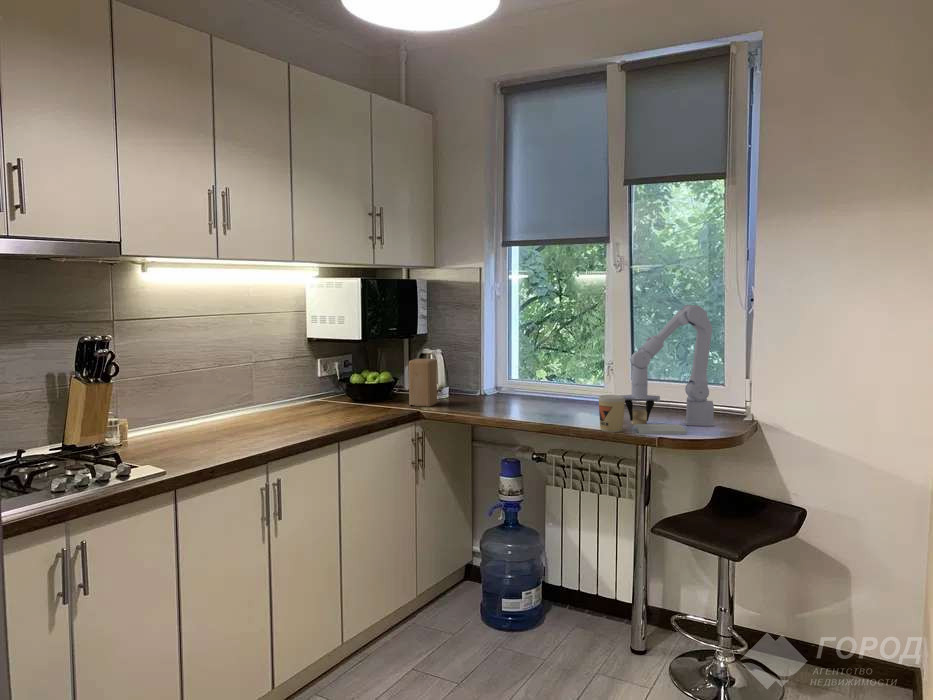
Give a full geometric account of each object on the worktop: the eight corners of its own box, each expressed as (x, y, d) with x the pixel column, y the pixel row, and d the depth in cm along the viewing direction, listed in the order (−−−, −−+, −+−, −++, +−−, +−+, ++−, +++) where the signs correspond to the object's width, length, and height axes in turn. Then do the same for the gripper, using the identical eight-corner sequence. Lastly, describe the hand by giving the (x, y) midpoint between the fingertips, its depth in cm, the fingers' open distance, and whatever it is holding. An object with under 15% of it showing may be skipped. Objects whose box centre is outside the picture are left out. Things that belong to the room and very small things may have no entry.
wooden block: (408, 406, 311) (407, 360, 309) (416, 402, 320) (416, 358, 319) (430, 407, 308) (429, 360, 306) (437, 403, 317) (437, 358, 316)
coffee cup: (593, 428, 259) (593, 395, 258) (615, 426, 262) (615, 394, 261) (607, 433, 250) (607, 399, 249) (630, 431, 254) (630, 397, 253)
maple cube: (645, 423, 269) (645, 409, 269) (646, 425, 264) (646, 412, 264) (631, 422, 270) (631, 409, 269) (632, 425, 265) (633, 412, 264)
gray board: (680, 427, 259) (680, 424, 259) (686, 434, 247) (686, 431, 247) (635, 427, 261) (635, 423, 261) (639, 433, 249) (639, 430, 249)
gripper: (620, 385, 262) (620, 422, 264) (661, 385, 261) (660, 422, 262) (618, 382, 269) (618, 418, 271) (658, 383, 268) (657, 419, 269)
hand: (639, 420), depth 267 cm, fingers closed on maple cube, 5 cm apart
